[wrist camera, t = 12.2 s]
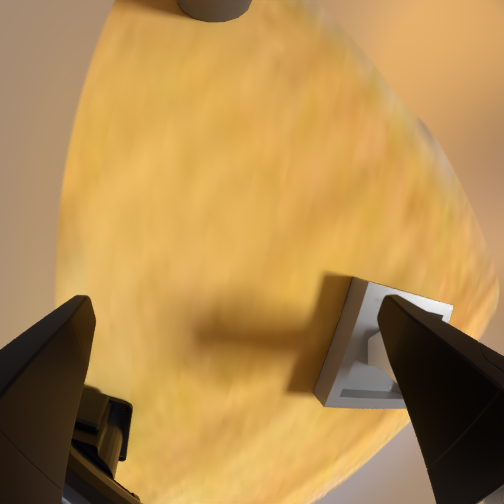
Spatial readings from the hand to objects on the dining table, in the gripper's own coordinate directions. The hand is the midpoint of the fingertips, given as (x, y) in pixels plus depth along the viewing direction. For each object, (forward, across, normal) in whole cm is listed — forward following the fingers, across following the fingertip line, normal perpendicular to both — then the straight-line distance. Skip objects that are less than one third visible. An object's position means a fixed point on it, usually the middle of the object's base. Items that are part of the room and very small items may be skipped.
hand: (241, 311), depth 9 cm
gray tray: (+10, -13, +12) cm, 21 cm away
